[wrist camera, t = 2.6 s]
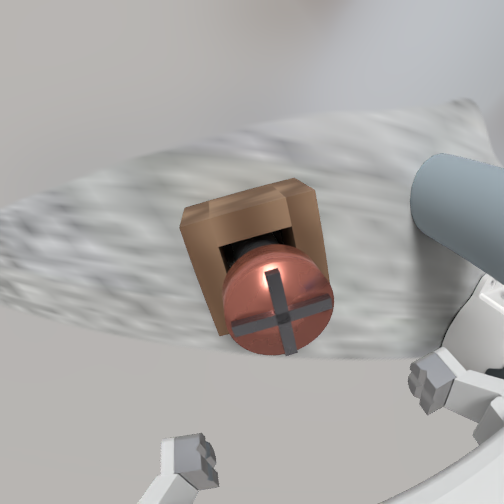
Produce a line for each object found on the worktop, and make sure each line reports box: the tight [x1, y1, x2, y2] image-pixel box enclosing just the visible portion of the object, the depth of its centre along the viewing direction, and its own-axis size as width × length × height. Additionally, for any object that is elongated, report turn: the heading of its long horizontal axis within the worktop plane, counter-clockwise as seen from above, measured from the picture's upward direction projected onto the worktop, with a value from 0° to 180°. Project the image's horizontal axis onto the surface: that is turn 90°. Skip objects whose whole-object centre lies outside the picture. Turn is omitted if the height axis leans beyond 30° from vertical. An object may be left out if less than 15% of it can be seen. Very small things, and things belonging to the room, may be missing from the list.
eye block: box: [179, 178, 330, 336], centre depth 23 cm, size 9×9×5 cm
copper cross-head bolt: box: [222, 232, 334, 356], centre depth 21 cm, size 6×6×11 cm
